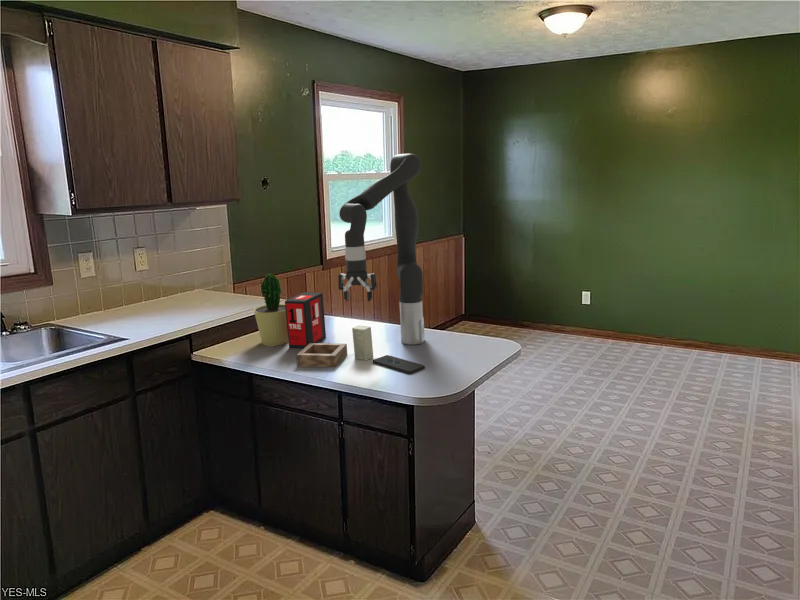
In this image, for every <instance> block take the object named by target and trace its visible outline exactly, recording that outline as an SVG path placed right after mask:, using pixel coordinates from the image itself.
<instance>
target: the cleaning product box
mask: <svg viewBox="0 0 800 600" xmlns="http://www.w3.org/2000/svg"><path fill="white" fill-rule="evenodd" d="M323 294H324V293H323V292H311V291H310V292H307V291H306V292H301V293H299V294H296V295H295V296H293V297H290V298H288V299H286V300H284V304H285V309H286V320H287V331H288V342H287V343H288V348H289V349H294V350H295V349H296V350H303V349H304V348H305V347H306V346H307V345H308V344H310V343H321V342H323V340H325V339H327V333H326V319H325V318H326V317H325V306H324V295H323Z"/></svg>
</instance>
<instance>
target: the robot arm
mask: <svg viewBox="0 0 800 600" xmlns="http://www.w3.org/2000/svg"><path fill="white" fill-rule="evenodd" d="M389 166H390V167H389V168H390V169H389V170H390V173H389V174H388V175H386V176H384V177H382V178H380V179H378V180H376V181H374V182H373V183H371V184H370V185H369V186H368V187H367V188H366V189H364V190H363V191H362V192H361V193H360V194H358V195H357V196H355V197H353V198H351V199H350V200H348V201H346V202H345V203H344V204H343V205H342V206H341V207H340V209H339V214H338V216H339V218H340V219H341V221H342V222H344V223H347V224H350V226H349V227H350V228H349V229H348V230H346V231H345V233H344V243H345V244H344V245H345V247H344V249H345V250H344V253H345V255H344V258H345V270H346V273H344V272H343V273H342V272H341V273H339V274H338V276H337V278H338V281H337V282H338V290H339V291H342V292H343V296H344V297H343V299H344V300H345V302H349V301H350V290H349V288H350V287H351V286H362V287H363V288H365V289H366V291H367V292H366V295H367V302H370V301H371V300H372V299H373V291H374V290H376V289H377V288H378V287H377V278H376V277H377V276H376V273H374V272H373V273H368V271H367V257H366V256H367V254H366V248H365V235H364V234H365V231H366V224H367V219H368V217H367V216H368V215H367V211H370V210H372V209H374V208H375V207H376V206H377V205H378V204H380V203H381V202H382V201H383V200H384V199H385V198H386V197H388V196H389V195H390V194H391V193H393V203H394V227H395V239H396V245H397V262H396V276H397V278H398V280H399V284H400V286H399V287H400V290H399V292H400V293H399V295H398V296H399V297H398V298H399V300H398V301H399V314H400V315H399V320H400V323H399V324H400V340H401V342H400V343H402V344H404V345H419V344H423V343H424V341H425V339H426V338H425V318H424V315H423V293H424V278H423V277H424V276H423V275H424V274H423V271H422V268H421V266H420V265H418V263H417V255H416V245H417V239H418V234H419V213H418V209H417V206H416V204H415V201H414V200H413V198H412V196H411V194H410V191H409V190H410V189H409V183H408V182H409V181H410V180H412V179H413V178H415V177H417V176H418V175H419V174H420V172H421V169H422V161H421V159H420V157H419V156H418V155H417V154H414V153H400V154H399V153H398V154H396V155H394V156H392V158H391V160H390V165H389ZM345 278H346V280H347V282H346V284H345V286H344V283H345V281H344V280H345ZM368 278H369V280H370V283H371V285H370V283H369V282H368Z"/></svg>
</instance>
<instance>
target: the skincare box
mask: <svg viewBox="0 0 800 600" xmlns="http://www.w3.org/2000/svg"><path fill="white" fill-rule="evenodd" d="M351 330H352V340H353V341H352V342H353V351H354V358H355V359H358V360H361V361H362V360H363V361H369V360H370V359H372V358H374V348H373V337H372V335H373V334H372V327H371V326H366V325H361V324H360V325H356V326H354V327H352V329H351Z"/></svg>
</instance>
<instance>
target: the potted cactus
mask: <svg viewBox="0 0 800 600" xmlns="http://www.w3.org/2000/svg"><path fill="white" fill-rule="evenodd" d="M264 276H265V277H264V278H263V279H262V282H261V283H259V285H260V294H261V295H262V296H263V300H264V304H265V305H261V306H258V307H255V308H254V309H253V312H254V317H255V320H256V324H257V328H258V332H259V337H260V340H261V343H262V345H264V346H268V347H269V346H270V347H275V346H281V345H285V344H287V343H289V342H288V331H287V320H286V309H285V303H281V295H282V294H283V290H282V287H281V284H282V283H281V282H280V279H281V278H278V277H277V275H275V272H274V273H266V274H265V275H264Z"/></svg>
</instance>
